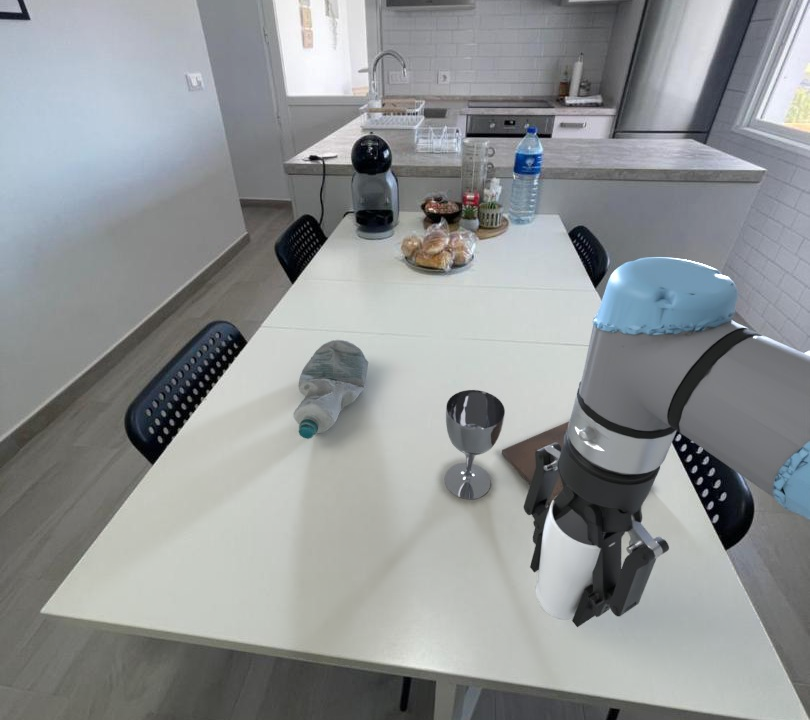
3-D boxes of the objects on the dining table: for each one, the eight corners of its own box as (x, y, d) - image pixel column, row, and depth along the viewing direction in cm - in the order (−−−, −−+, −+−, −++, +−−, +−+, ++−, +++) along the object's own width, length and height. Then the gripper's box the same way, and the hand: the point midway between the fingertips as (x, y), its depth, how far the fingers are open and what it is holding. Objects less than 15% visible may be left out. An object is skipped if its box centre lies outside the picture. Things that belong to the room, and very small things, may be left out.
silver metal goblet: (503, 479, 70) (516, 407, 61) (472, 511, 65) (482, 438, 56) (462, 453, 74) (469, 382, 66) (431, 481, 70) (434, 409, 61)
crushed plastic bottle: (316, 359, 96) (266, 441, 76) (315, 331, 92) (262, 410, 72) (376, 370, 95) (341, 456, 74) (377, 341, 91) (341, 424, 70)
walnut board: (649, 487, 68) (651, 483, 68) (571, 530, 62) (572, 525, 62) (573, 422, 80) (574, 418, 79) (501, 453, 74) (501, 449, 74)
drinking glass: (554, 640, 48) (582, 560, 39) (516, 584, 53) (534, 502, 44) (602, 613, 50) (639, 531, 41) (562, 561, 55) (587, 479, 47)
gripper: (505, 393, 43) (484, 536, 56) (689, 559, 29) (603, 697, 42) (564, 371, 45) (531, 512, 59) (758, 512, 31) (657, 656, 45)
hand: (561, 589), depth 50 cm, fingers closed on drinking glass, 6 cm apart
